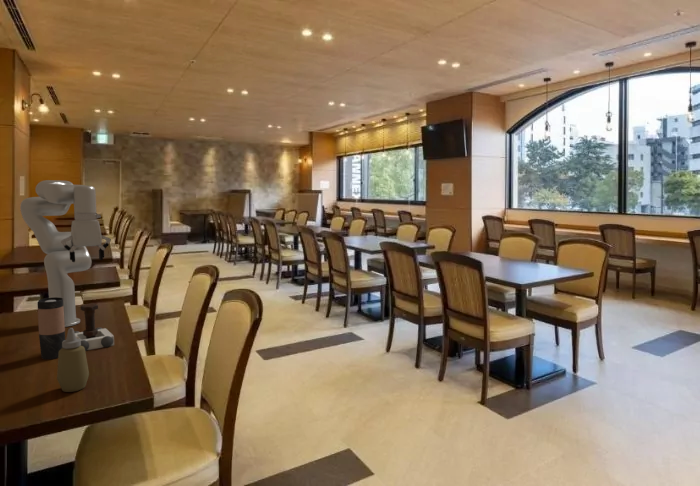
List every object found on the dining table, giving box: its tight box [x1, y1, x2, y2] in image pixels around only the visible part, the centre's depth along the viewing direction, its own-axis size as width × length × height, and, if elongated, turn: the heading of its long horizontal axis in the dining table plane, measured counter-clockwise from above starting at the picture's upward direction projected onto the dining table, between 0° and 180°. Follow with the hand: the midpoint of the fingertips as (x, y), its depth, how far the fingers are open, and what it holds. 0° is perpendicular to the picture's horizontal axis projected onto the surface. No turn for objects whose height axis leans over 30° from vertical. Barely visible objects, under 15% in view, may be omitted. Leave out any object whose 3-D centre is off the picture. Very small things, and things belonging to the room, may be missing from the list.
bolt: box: [80, 303, 99, 339], centre depth 175 cm, size 6×5×15 cm
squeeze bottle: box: [56, 327, 90, 393], centre depth 135 cm, size 8×8×18 cm
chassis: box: [74, 327, 115, 352], centre depth 175 cm, size 15×13×4 cm
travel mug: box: [36, 297, 66, 360], centre depth 162 cm, size 8×8×20 cm
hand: (87, 260), depth 184 cm, fingers open, 9 cm apart
